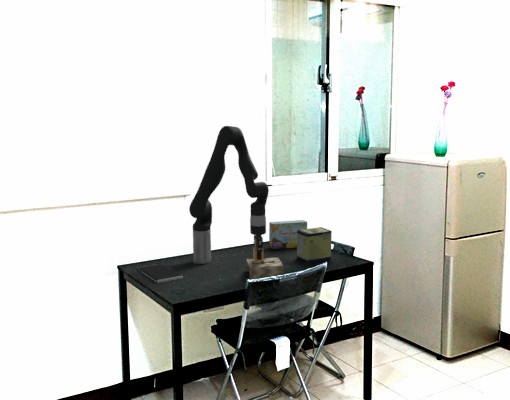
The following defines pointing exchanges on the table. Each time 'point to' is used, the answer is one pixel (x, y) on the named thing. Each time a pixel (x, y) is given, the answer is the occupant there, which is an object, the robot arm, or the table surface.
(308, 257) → the protein box
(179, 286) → the table surface
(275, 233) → the snack box
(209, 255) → the robot arm
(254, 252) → the keyhole peg
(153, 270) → the smartphone
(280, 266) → the shelf
